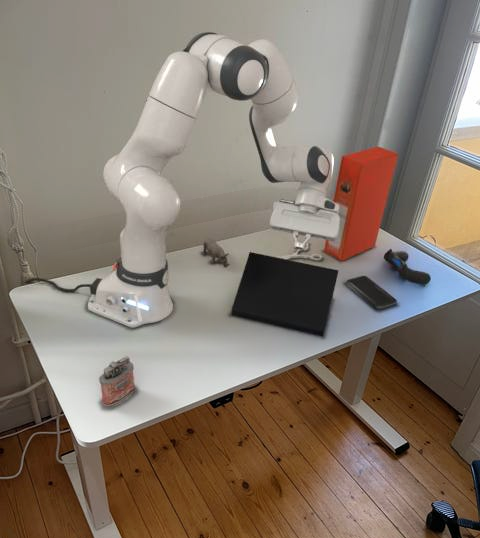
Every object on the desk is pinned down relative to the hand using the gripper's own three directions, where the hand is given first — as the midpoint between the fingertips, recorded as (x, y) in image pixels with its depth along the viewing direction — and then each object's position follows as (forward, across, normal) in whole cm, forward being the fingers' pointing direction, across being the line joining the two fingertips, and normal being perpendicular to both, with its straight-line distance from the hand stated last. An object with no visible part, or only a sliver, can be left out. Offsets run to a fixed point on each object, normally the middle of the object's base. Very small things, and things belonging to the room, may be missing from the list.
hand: (298, 248), depth 146 cm
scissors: (-2, -3, +16) cm, 17 cm away
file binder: (-11, +14, +26) cm, 31 cm away
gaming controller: (-4, +32, +19) cm, 38 cm away
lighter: (+51, -27, -36) cm, 68 cm away
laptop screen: (+15, 0, -9) cm, 17 cm away
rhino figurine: (+7, -25, +8) cm, 27 cm away
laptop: (+18, 0, -3) cm, 18 cm away
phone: (+7, +23, +8) cm, 25 cm away
